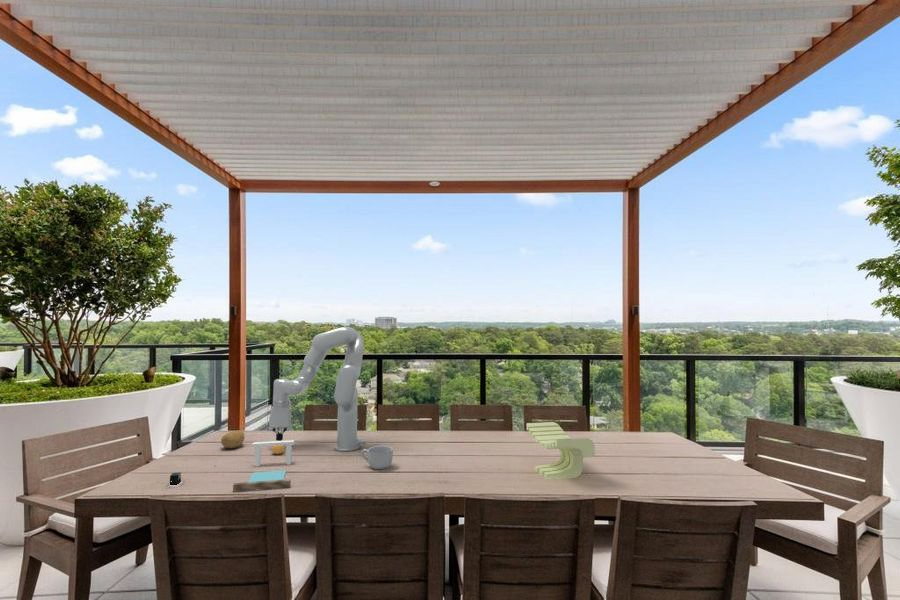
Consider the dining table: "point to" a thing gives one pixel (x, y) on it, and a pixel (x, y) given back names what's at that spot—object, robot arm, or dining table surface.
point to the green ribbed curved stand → (561, 450)
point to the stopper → (262, 485)
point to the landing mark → (267, 476)
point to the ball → (278, 449)
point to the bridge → (273, 443)
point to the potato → (233, 439)
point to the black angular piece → (175, 478)
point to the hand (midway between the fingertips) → (279, 441)
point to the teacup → (379, 456)
